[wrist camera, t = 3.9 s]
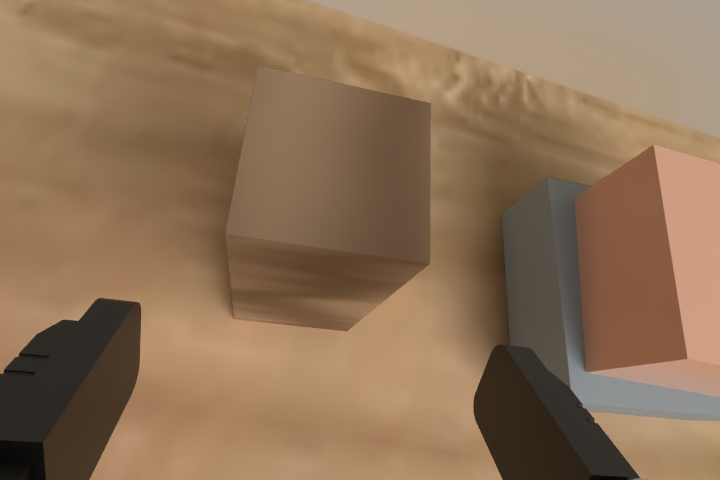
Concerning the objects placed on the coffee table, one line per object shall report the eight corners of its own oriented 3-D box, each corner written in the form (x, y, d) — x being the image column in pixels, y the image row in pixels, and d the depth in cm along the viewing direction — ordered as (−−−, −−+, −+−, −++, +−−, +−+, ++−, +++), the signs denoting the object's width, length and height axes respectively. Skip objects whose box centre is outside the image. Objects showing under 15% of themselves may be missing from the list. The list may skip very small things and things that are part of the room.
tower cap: (585, 372, 18) (687, 358, 14) (574, 197, 21) (653, 144, 17) (750, 403, 19) (888, 399, 15) (715, 234, 22) (821, 193, 18)
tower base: (509, 405, 21) (572, 402, 17) (498, 216, 25) (547, 177, 21) (683, 420, 23) (776, 421, 19) (647, 242, 27) (719, 211, 23)
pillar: (234, 318, 19) (224, 233, 10) (252, 214, 21) (258, 65, 12) (346, 331, 20) (429, 263, 11) (354, 230, 22) (430, 103, 13)
